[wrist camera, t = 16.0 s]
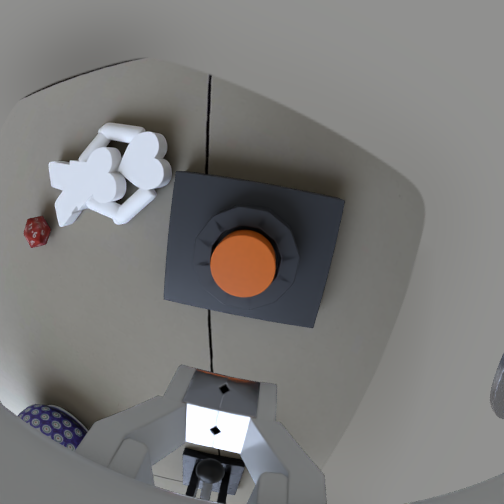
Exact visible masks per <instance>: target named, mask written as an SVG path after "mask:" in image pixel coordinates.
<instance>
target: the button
mask: <svg viewBox="0 0 504 504" xmlns="http://www.w3.org/2000/svg"><path fill="white" fill-rule="evenodd" d="M210 268H211V273H212V276H213V278H214V280H215V282H216V283H217V285H218V286H219V287H220V288H221V289H222V290H224V291H225V292H226V293H228V294H230V295H233V296H237V297H252V296H255V295H258V294H260V293H262V292H263V291H264V290H265V289H267V288H268V286H269V285H270V284H271V282H272V281H273V278H274V275H275V270H276V256H275V251H274V249H273V246H272V245H271V243H270V242H269V240H268V239H267V238H266V237H264V236H263V235H262V234H260V233H258V232H255V231H252V230H238V231H234V232H232V233H230V234H228V235H227V236H226V237H224V239H223V240H222V241H221V242H220V243H219V244H218V246H217V247H216V248H215V250H214V252H213V254H212V257H211V262H210Z"/></svg>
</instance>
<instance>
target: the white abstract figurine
mask: <svg viewBox="0 0 504 504" xmlns="http://www.w3.org/2000/svg"><path fill="white" fill-rule="evenodd" d="M111 140H115V141H120V142H126V143H130V144H129V145H128V147H127V149H126V151H125V153H124V155H123V158H122V157H121V153H120V152H119V150H118V149H116V148H113V147H106V146H107V145H108V144H109V143H110V141H111ZM166 152H167V142H166V139H165V137H164V136H163V135H162V134H160V133H154V132H148V131H147V132H145V129H144V128H143V127H139V126H132V125H125V124H118V123H106V124H105V125H104V126H102V127H101V128H100V129H99V131H98V135H97V136H96V137H95V138H94V139H93V141H92V142H91V143H90V144H89V145H88V147H87V148H86V149H85V150H84V152H83V153H82V154H81V155H80V157H79V160H70V162H66V161H53V162H50V163H49V174H50V180H51V186H52V187H54V188H57V189H60V190H63V191H62V193H61V194H60V196H59V197H58V199H57V200H56V202H55V209H56V214H57V219H58V223H59V226H60V227H63V226H66V225H69V224H72V223H73V222H74V221H75V220H76V219H77V217H78V216H79V215H80V213H81V212H82V210H83V209H87V208H89V209H91V210H94V211H96V212H98V213H100V214H103V215H105V216H107V217H110V218H112V219H113V221H114V223H115V224H117V225H120V224H125V223H127V222H128V221H130V220H131V219H132V218H133V217H134V216H135V215H136V214H137V213H139V212H140V211H141V210H142V209H143V208H144V207H145V206H147V205H148V204H149V203H150V202H151V201H152V200H153V199H155V197H156V196H157V193H156V192H155V190H154V189H156V188H161V187H163V186H166V185H167V184H168V183H169V181H170V180H171V176H172V169H171V166H170V163H169V162H168V161H167V160H165V159H163V157H164V156H165V154H166ZM124 177H125V178H126V179H128V180H129V181H130V182H131V183H132V184H134V185H135V186H137V187H139V189H138V190H137V191H136V192H135V193H134V194H133V195H132V196H130V197H129V198H128V199H127V200H126V201H125V202H124V203H123V204H122V205H120V204H118V203H116V202H113V201H117V200H119V199H121V198H122V197H123V196H124V195H125V193H126V180H125V178H124Z"/></svg>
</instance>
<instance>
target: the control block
mask: <svg viewBox="0 0 504 504" xmlns="http://www.w3.org/2000/svg"><path fill="white" fill-rule="evenodd" d="M344 203H345V200H342V199H340V198H337V197H332V196H327V195H323V194H318V193H313V192H308V191H303V190H298V189H293V188H288V187H283V186H277V185H272V184H266V183H261V182H255V181H249V180H243V179H237V178H230V177H224V176H217V175H210V174H203V173H195V172H187V171H176V175H175V182H174V190H173V198H172V206H171V215H170V224H169V234H168V245H167V256H166V270H165V285H164V299H165V300H169V301H173V302H178V303H182V304H186V305H191V306H195V307H200V308H205V309H209V310H214V311H219V312H224V313H229V314H234V315H239V316H244V317H250V318H255V319H260V320H266V321H272V322H277V323H283V324H289V325H296V326H302V327H308V328H313V327H314V323H315V320H316V317H317V313H318V310H319V306H320V303H321V299H322V295H323V292H324V288H325V284H326V280H327V277H328V273H329V269H330V265H331V261H332V257H333V253H334V248H335V244H336V240H337V236H338V231H339V227H340V222H341V218H342V213H343V208H344ZM238 230H252V231H255V232H258V233H260V234H262V235H263V236H264V237H266V238H267V239H268V240H269V242H270V243H271V245H272V246H273V249H274V251H275V256H276V270H275V275H274V278H273V281H272V282H271V284H270V285H269V286H268V288H267V289H265V290H264V291H263V292H262V293H260V294H258V295H255V296H252V297H237V296H233V295H230V294H228V293H226V292H225V291H224V290H222V289H221V288H220V287H219V286H218V285H217V283H216V282H215V280H214V278H213V276H212V273H211V268H210V262H211V257H212V254H213V252H214V250H215V248H216V247H217V246H218V244H219V243H220V242H221V241H222V240H223V239H224V237H226V236H227V235H228V234H230V233H232V232H234V231H238Z"/></svg>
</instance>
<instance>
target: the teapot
mask: <svg viewBox="0 0 504 504" xmlns="http://www.w3.org/2000/svg"><path fill="white" fill-rule="evenodd" d="M18 417H19V418H21V419H22V420H23V421H25V422H26V423H28V424H29V425H31V426H32V427H34V428H35V429H37V430H38V431H40V432H41V433H43V434H45V435H46V436H48V437H49V438H51V439H53V440H54V441H56V442H58V443H60V444H61V445H63V446H65V447H67V448H68V449H70V450H72V451H75V450H76V448H77V447H78V445H79V444H80V443H81V441H82V440H83V438H84V437H85V435H86V434H87V432H88V430H87V428H86V427H85V426H84V425H83V424H82V423H81V422H80V421H79V420H78V419H77V418H76V417H74V416H73V415H72V414H70V413H69V412H68V411H66V410H64V409H63V408H61V407H58V406H56V405H40V404H35V405H31V406H29V407H27V408H26V409H24V410H23V411H22V412H21V413H20V414H19V415H18Z"/></svg>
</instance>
